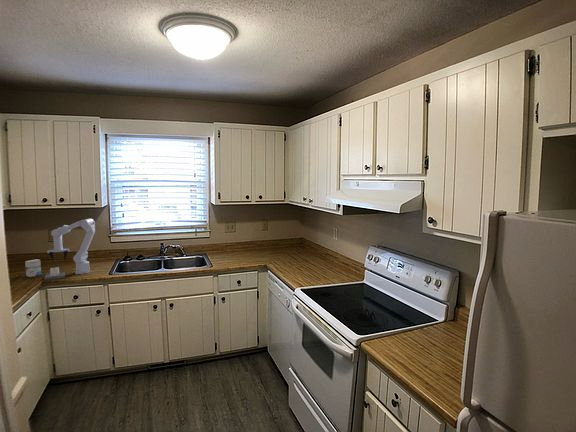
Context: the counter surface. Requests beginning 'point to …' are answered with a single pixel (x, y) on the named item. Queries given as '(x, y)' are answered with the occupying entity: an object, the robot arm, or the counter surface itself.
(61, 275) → the stand
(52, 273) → the block
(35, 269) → the ink box
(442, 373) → the counter surface
